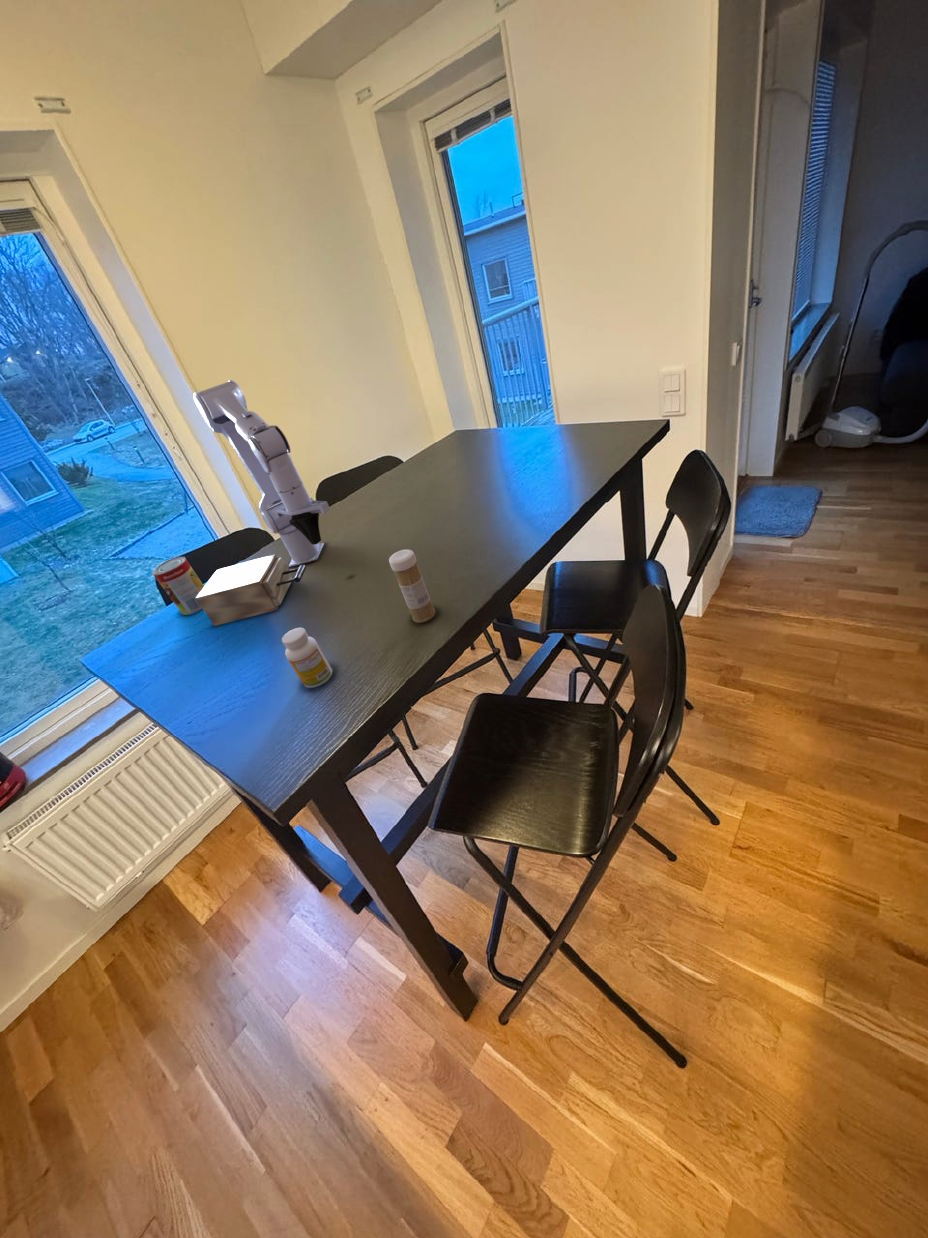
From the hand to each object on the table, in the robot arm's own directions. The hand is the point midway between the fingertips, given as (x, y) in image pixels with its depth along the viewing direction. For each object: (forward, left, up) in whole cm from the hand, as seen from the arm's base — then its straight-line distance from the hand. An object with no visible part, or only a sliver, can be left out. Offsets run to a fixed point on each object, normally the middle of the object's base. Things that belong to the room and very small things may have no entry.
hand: (316, 542), depth 112 cm
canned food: (-2, -37, -9) cm, 38 cm away
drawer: (+5, -14, -8) cm, 17 cm away
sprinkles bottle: (+28, +24, -9) cm, 38 cm away
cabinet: (+5, -19, -9) cm, 21 cm away
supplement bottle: (+39, +5, -9) cm, 40 cm away
